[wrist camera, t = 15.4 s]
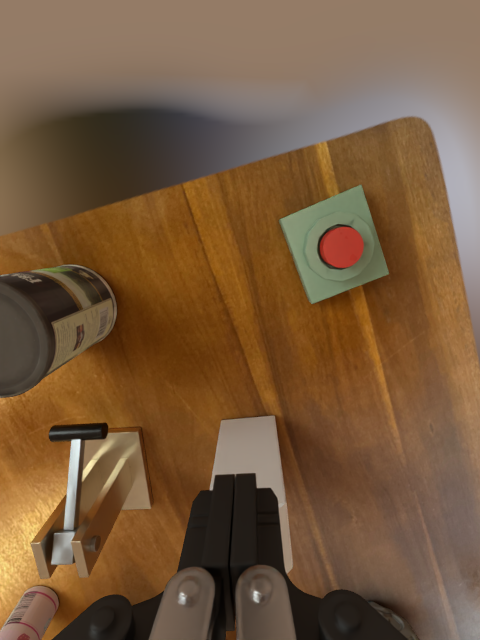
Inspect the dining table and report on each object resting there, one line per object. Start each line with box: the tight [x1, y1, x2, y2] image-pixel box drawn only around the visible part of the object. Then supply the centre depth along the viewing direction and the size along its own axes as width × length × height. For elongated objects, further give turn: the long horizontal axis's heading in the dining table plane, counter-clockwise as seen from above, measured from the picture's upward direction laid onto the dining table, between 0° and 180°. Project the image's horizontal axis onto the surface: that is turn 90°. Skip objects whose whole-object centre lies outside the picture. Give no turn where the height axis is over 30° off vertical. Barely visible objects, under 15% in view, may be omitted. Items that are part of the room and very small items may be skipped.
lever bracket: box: [31, 427, 153, 579], centre depth 39 cm, size 12×9×14 cm
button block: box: [279, 185, 389, 304], centre depth 36 cm, size 10×9×4 cm
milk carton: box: [210, 416, 293, 574], centre depth 35 cm, size 7×7×19 cm
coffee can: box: [0, 265, 117, 398], centre depth 34 cm, size 10×10×14 cm
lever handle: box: [49, 423, 108, 565], centre depth 36 cm, size 13×6×2 cm, turn 4°
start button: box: [320, 227, 364, 268], centre depth 34 cm, size 4×4×2 cm
